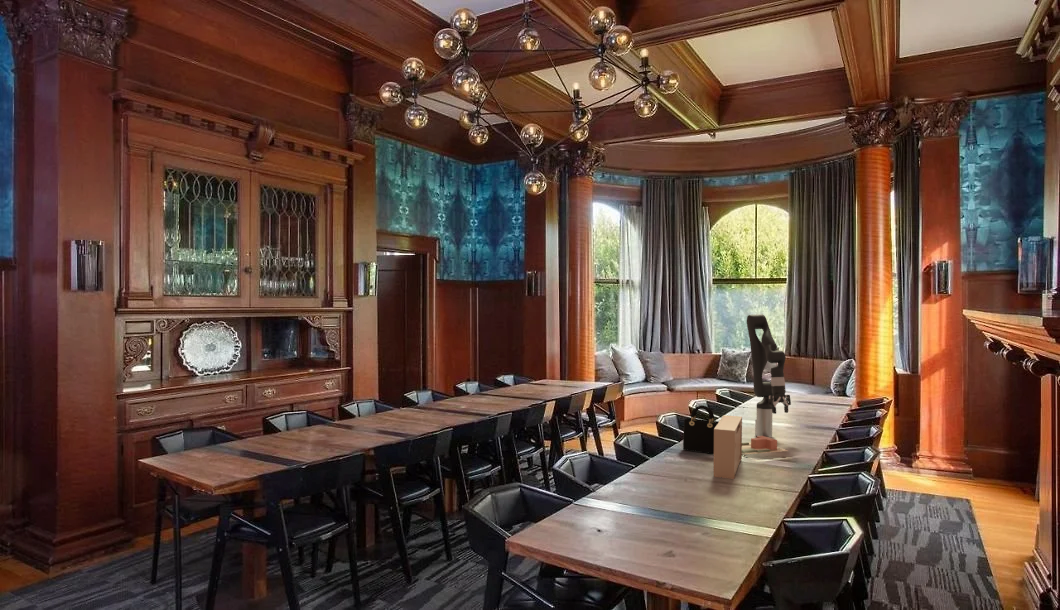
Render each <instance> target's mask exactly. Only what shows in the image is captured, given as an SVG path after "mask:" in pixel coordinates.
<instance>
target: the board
mask: <svg viewBox="0 0 1060 610" xmlns="http://www.w3.org/2000/svg"><path fill="white" fill-rule="evenodd" d="M780 452H789V450H786V449H784V448H781V447H778V446H777V449H774V450H770V449H767V448H762V449H754V448H751V441H749V442H746V441H745V442H742V456H743V455H744V457H745V456H748V455H758V454H767V453H768V454H769V453H780Z"/></svg>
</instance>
